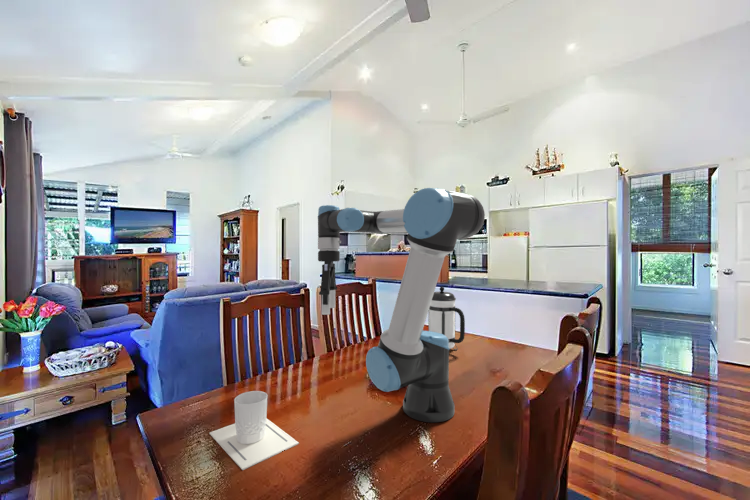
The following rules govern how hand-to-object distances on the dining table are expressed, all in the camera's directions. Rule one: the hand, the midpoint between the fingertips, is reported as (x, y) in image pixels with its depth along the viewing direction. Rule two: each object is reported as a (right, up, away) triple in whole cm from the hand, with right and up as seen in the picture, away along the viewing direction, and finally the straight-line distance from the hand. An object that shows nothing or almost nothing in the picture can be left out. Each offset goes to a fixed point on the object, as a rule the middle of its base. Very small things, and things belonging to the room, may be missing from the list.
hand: (328, 311), depth 117 cm
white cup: (-15, -26, -33) cm, 44 cm away
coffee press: (+49, -26, +42) cm, 70 cm away
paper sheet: (-15, -26, -33) cm, 44 cm away
